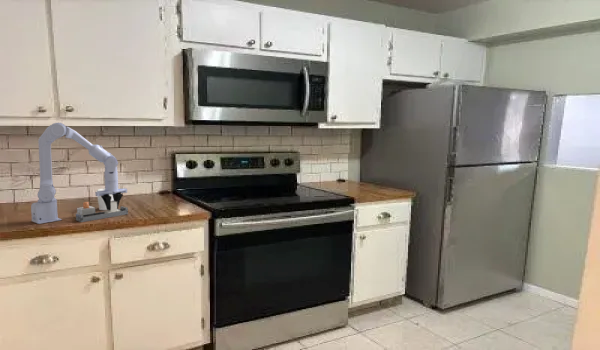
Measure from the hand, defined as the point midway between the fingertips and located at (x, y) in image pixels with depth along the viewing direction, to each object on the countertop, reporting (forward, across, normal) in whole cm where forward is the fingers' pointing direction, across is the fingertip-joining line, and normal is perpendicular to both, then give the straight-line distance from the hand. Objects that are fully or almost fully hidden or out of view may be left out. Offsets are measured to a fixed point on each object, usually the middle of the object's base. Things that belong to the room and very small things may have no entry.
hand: (112, 209), depth 192 cm
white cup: (+3, +5, +16) cm, 17 cm away
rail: (+3, -5, 0) cm, 6 cm away
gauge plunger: (+1, -9, +8) cm, 12 cm away
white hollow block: (+3, -9, +8) cm, 12 cm away
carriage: (+2, 0, 0) cm, 2 cm away
